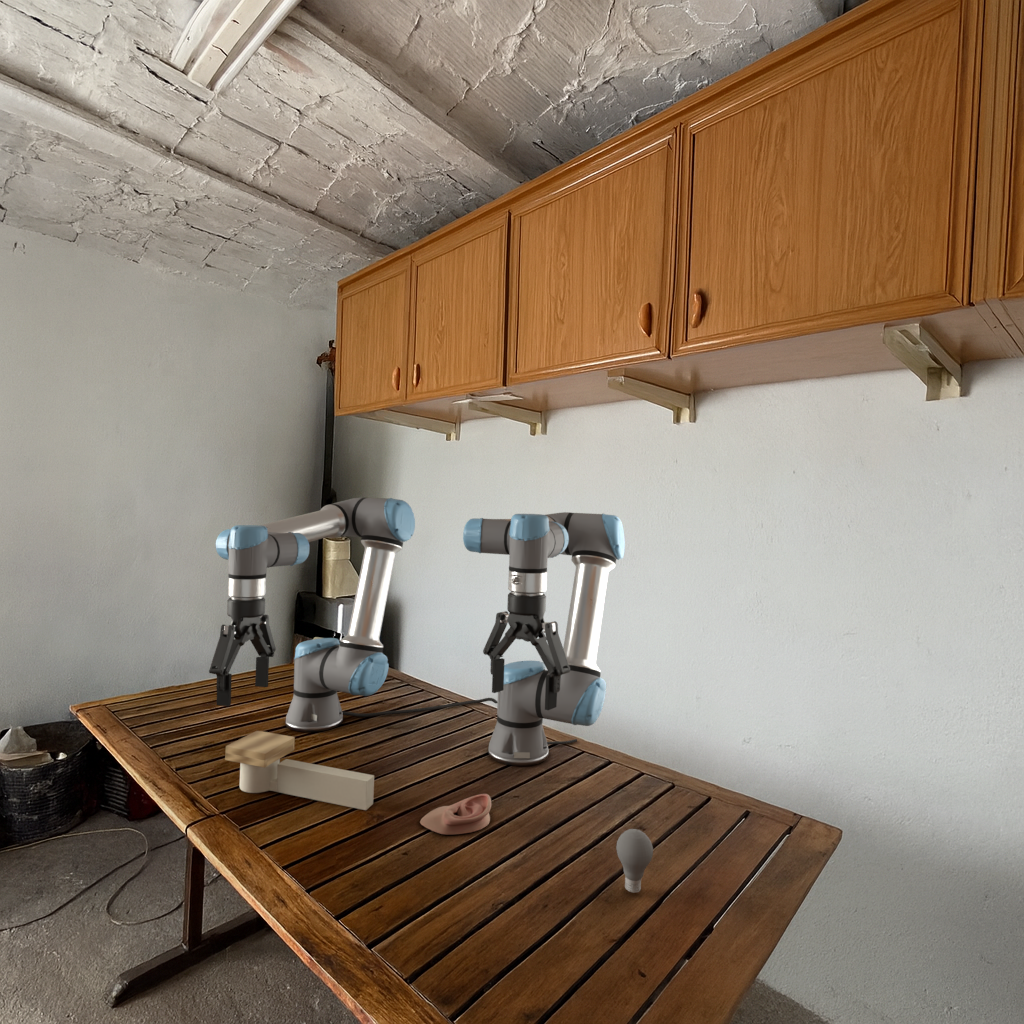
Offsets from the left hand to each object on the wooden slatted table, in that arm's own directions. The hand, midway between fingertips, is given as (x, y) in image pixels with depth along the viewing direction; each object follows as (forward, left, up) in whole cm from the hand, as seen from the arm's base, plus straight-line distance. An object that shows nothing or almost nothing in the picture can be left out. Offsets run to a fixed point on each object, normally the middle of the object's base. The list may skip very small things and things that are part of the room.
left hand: (243, 695), depth 136 cm
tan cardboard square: (-3, +2, -13) cm, 14 cm away
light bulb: (-25, +81, -20) cm, 87 cm away
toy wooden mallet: (-8, +13, -20) cm, 25 cm away
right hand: (-28, +54, +5) cm, 61 cm away
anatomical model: (-21, +44, -20) cm, 53 cm away
